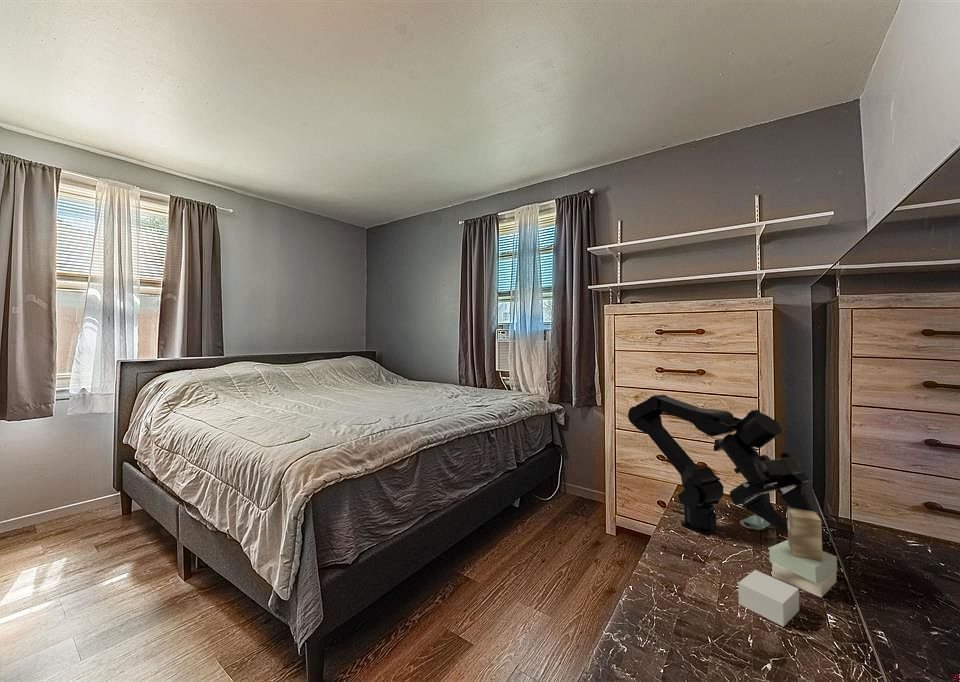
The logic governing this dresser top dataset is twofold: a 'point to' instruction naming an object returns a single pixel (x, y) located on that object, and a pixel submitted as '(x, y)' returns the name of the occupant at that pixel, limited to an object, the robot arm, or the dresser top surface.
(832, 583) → the birch slab lower
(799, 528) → the maple block
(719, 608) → the dresser top surface
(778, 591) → the grey stand
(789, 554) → the sage slab upper
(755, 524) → the pacifier
